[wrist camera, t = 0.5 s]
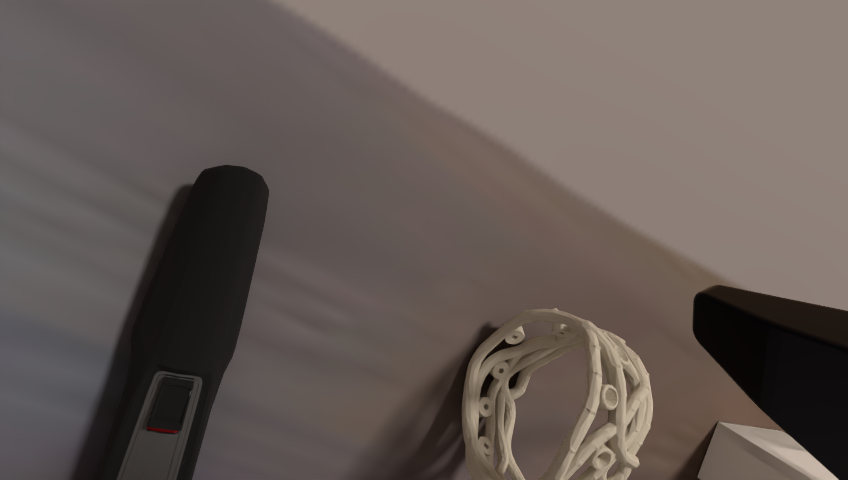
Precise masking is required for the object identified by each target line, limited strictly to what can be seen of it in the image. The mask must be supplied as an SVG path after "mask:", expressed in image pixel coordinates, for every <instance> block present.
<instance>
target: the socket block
mask: <svg viewBox="0 0 848 480" xmlns="http://www.w3.org/2000/svg"><path fill="white" fill-rule="evenodd" d="M697 478H699V479H700V480H839V479H837V478H836V477H835V476H834V475H833V474H832V473H831V472H830V471H829V470H827V469H826V468H825V467H824V466H823V465H822V464H821V463H820V462H819V461H817V460H816V459H815V458H814V457H813V456H812V455H811V454H810V453H809V452H807V451H806V450H805V449H804V448H803V447H802V446H801V445H800V444H799V443H797V442H796V441H795V440H794V439H793V438H792V437H791V436H789V435H787V434H786V433H784V432H782V431H778V430H771V429H764V428H757V427H751V426H744V425H737V424H730V423H723V422H718V424H717V426H716V429H715V431H714V434H713V437H712V439H711V442H710V445H709V447H708V450H707V452H706V455H705V458H704V460H703V463H702V466H701V468H700V471H699V473H698V476H697Z"/></svg>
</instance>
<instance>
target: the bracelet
mask: <svg viewBox="0 0 848 480" xmlns="http://www.w3.org/2000/svg"><path fill="white" fill-rule="evenodd" d="M537 321H549V322H553V327H552V334H554V335H543V336H537V337H534V338H531V339H529V340H527V341H525V342H523V343H521V344H520V345H518V346H514V347H510V348H506V349H502V350H500V351H498V352H496V353H494V354H492V355H491V356H489V357H488V358H487V359H486V360H484V358H485V357H486V356H487V354H488V353H489V352H490V351H491V350H492V349H494V348H495V347H496V346H497V345H498V344H499V343H500V342H501V341H502V340H503V339H505V340H506V342H507V343H508V344H517V343H519V342H521V341H523V339H524V337H525V335H524V332H523V328H522V325H524V324H526V323H529V322H537ZM555 335H556V336H555ZM582 347H584V348H585V349H586V362H587V390H586V396H585V400H584V403H583V406H582V409H581V412H580V414H579V415H578V417H577V419H576V421H575V422H574V424H573V426H572V428H571V429H570V431H569V433H568V434H567V436H566V438H565V440H564V441H563V443H562V445H561V447H560V448H559V450H558V452H557V454H556V456H555V458H554V460H553V462H552V464H551V466H550V467H549V469H548V470H547V472H546V473H545V474H544V475H543V476H542V477H541V478H539V479H538V480H568V479H569V478H570V477H571V476H572V474H573V473H574V472H575V471H576V470H577V469H578V468H579V467H580V466H581V465H582V464H583V463H584V462H585V461H586V462H587V463H589V464H590V465H591V466H590V467H589V468H588V469H587V470H586V471H585V472H584V473H583V474H582V475H581V476H580V477H579V478H578V479H577V480H627V478H628V476H629V475H630V473H631V469H634V468H637V467H638V466H639V460H638V458H637V457H636V456H635V455H636V453H637V451H638V449H639V448H640V446H641V445H642V443H643V441H644V439H645V437H646V435H647V433H648V431H649V429H650V428H651V426H650V424H651V420H652V412H653V400H652V394H651V387H650V381H649V374H648V373H647V372H646V369H645V367H644V365H643V363H642V361H641V360H640V358H639V356H638V355H636V354H635V352H634V351H633V350H631V349H630V348H628V347H627V346H626V345H625V341H624V340H623V339H621V338H619V337H618V336H616V335H614V334H612V333H611V332H609V331H606V330H603V329H599V328H597V327H596V326H595V325H594V324H592V323H591V322H590V321H587V320H583V319H581V318H578V317H576V316H574V315H572V314H569V313H567V312H563V311H558V309H557V308H554V309H534V310H529V311H527V310H525V311H524V312H522V313H520V314H518V315H516V316H514V317H513V318H512V319H510V320H509V321H508V322H506V323H505V324H503V325H502V326H501V327H500V328H499V329H498V330H496V331H495V332H494V333H493V334H492V335H491V336H489V337H488V338H487V339H486V340H485V341H484V342H483V343H482V344H481V345H480V346H479V347H478V348H477V350H476V351H475V353H474V354H473V356H472V358H471V360H470V362H469V364H468V368H467V373H466V378H465V384H464V391H463V400H462V429H463V436H464V442H465V458H466V467H467V469H468V472H469V474H470V477H471V478H472V480H507V479H506V478H505V476H504V472H505V470H508V472H509V474H510V475H511V477H512V479H513V480H525V479H524V477H523V475H522V473H521V472H520V470H519V468H518V466H517V465H516V463H515V460H514V458H513V456H512V451H511V438H512V433H513V428H514V423H515V416H516V411H515V403H514V399H517V398H519V397H520V396H521V395H522V394H524V393H525V390H526V387H527V384H528V381H529V378H530V376H531V373H533V372H534V371H535V370H536V369H538V368H539V367H541V366H543V365H545V364H546V363H548V362H550V361H552V360H554V359H556V358H557V357H559V356H561V355H563V354H565V353H567V352H568V351H571V350H575V349H579V348H582ZM483 360H484V361H483ZM505 360H506V362H505ZM482 361H483V363H482ZM481 363H482V364H481ZM601 363H602V365H603V367H604V370H605V374H606V377H607V381H608V384H606V385H602V371H601ZM518 371H520V373H519V376H518V379H517V382H516V385H515V386H514V387H513V388H511V389H509V386H508V382H509V379H510V378H511V377H512V376H513V375H514V374H515V373H517V372H518ZM488 373H490V374H491V375H492V376H493V377H494V379H493V381H492V382H491V384H490V386H489V389H488V392H487V395H486V397H480V392H481V387H482V384H483V382H484V380H485V377H486V376H487V375H488ZM624 375H625V377H626V379H627V381H628V383H629V385H630V388H631V391H632V392H631V393H630V395H629V396H628V397H627V393H626V382H625V377H624ZM597 410H608V423H606V424H604V425H603V426H601V427H599V428H597V429H596V430H594V431H593V432H592V433H591V434H590V435H589V436H588V437H587V438H586V439H584V440H583V438H584V436H585V435H586V433H587V431H588V429H589V427H590V425H591V423H592V421H593V419H594V418H595V415H596V412H597ZM504 412H505V414H504ZM479 417H486V421H485V424H486V426H485V435H484V437H479V438H478V424H479ZM504 417H505V419H504ZM627 425H628V426H627ZM582 440H583V441H582ZM607 440H608V442H607V444H606V446H605V445H604V444H603V443H604V442H606V441H607ZM494 442H495V448H496V453H497V457H498V463H497V466H496V468H495V469H494V466H493V453H494V449H493V446H494ZM616 460H618V461H619V464H618V469H617V470H616V471H615V472H614V473H613V474H612V475H611V476H609V477H608V478H606V476H607V475H606V474H607V471H608V470H609V468H610V467H611V466H612V465H613V463H614V462H615V461H616Z"/></svg>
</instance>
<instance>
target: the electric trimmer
mask: <svg viewBox="0 0 848 480" xmlns="http://www.w3.org/2000/svg"><path fill="white" fill-rule="evenodd" d="M268 197H269V189H268V187H267V185H266V183H265V181H264V179H263V177H262V176H261V175H259V174H258V173H256V172H254V171H252V170H250V169H248V168H245V167H240V166H231V165H223V166H217V167H213V168H208V169H205V170H203V171H202V172H201V174H200V175H199V177H198V178H197V180H196V181H195V183H194V185H193V188H192V190H191V192H190V194H189V197H188V199H187V201H186V203H185V205H184V208H183V210H182V212H181V214H180V217H179V219H178V221H177V224H176V226H175V228H174V231H173V233H172V235H171V238H170V240H169V242H168V245H167V247H166V249H165V252H164V254H163V256H162V259H161V261H160V263H159V266H158V268H157V270H156V272H155V275H154V277H153V279H152V282H151V284H150V286H149V289H148V291H147V293H146V296H145V298H144V301H143V303H142V306H141V309H140V311H139V314H138V316H137V319H136V322H135V324H134V327H133V331H132V335H131V360H130V366H129V371H128V376H127V382H126V386H125V389H124V392H123V396H122V399H121V402H120V405H119V408H118V411H117V415H116V418H115V421H114V424H113V427H112V430H111V434H110V437H109V440H108V443H107V446H106V449H105V452H104V456H103V459H102V462H101V464H100V467H99V470H98V473H97V476H96V478H95V480H192V477H193V473H194V469H195V466H196V462H197V458H198V455H199V451H200V448H201V444H202V440H203V437H204V433H205V430H206V426H207V422H208V419H209V415H210V412H211V408H212V405H213V402H214V400H215V397H216V394H217V391H218V388H219V385H220V383H221V380H222V377H223V374H224V372H225V370H226V368H227V366H228V364H229V362H230V360H231V359H232V356H233V353H234V350H235V347H236V343H237V339H238V335H239V331H240V327H241V323H242V319H243V315H244V311H245V306H246V302H247V298H248V293H249V289H250V284H251V280H252V275H253V271H254V267H255V262H256V258H257V253H258V249H259V245H260V240H261V236H262V231H263V227H264V222H265V216H266V210H267V203H268Z"/></svg>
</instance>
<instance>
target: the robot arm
mask: <svg viewBox="0 0 848 480" xmlns="http://www.w3.org/2000/svg"><path fill="white" fill-rule="evenodd" d="M693 333H694V335H695V338H696V339H697V341H698V342H699V343H700V344H701V346H702V347H703V348H704V349H705V350H706V351H707V352H708V353H709V354H710V355H711V356H712V358H713V359H714V360H715V361H716V362H717V363H718V364H719V365H720V366H721V367H722V368H723V369H724V371H725V372H726V373H727V374H728V375H729V376H730V377H731V378H732V379H733V380H734V381H735V382H736V384H737V385H738V386H739V387H740V388H741V389H742V390H743V391H744V392H745V393H746V394H747V396H748V397H749V398H750V399H751V400H752V401H753V402H754V403H755V404H756V405H757V406H758V407H759V408H760V409H761V410H762V411H763V412H764V413H765V414H767V415H768V416H769V417H770V418H771V419H772V420H773V421H774V422H775V423H776V424H777V425H779V426H780V427H781V428H782V429H783V430H784V431H785V432H786V433H787V434H789V435H790V436H791V437H792V438H793V439H794V440H795V441H796V442H797V443H799V444H800V445H801V446H802V447H803V448H804V449H805V450H806V451H807V452H809V453H810V454H811V455H812V456H813V457H814V458H815V459H816V460H817V461H819V462H820V463H821V464H822V465H823V466H824V467H825V468H826V469H827V470H829V471H830V472H831V473H832V474H833V475H834V476H835V477H836V478H837V479H839V480H848V311H845V310H840V309H835V308H830V307H825V306H820V305H816V304H811V303H806V302H801V301H796V300H791V299H786V298H781V297H776V296H772V295H767V294H762V293H757V292H752V291H747V290H742V289H737V288H732V287H727V286H722V285H713V286H711V287H709V288H707V289H705V290H703V291H701V292H698V293H697V294H696V295H695V297H694V302H693Z"/></svg>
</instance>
